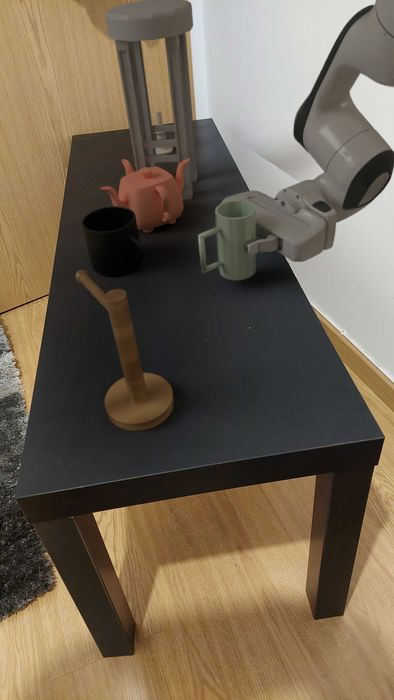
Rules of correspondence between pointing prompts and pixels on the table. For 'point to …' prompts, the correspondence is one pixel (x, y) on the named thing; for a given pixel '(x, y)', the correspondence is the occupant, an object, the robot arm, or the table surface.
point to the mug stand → (130, 369)
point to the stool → (128, 31)
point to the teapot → (150, 195)
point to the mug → (113, 240)
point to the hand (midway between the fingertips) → (232, 240)
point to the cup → (232, 240)
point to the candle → (161, 137)
